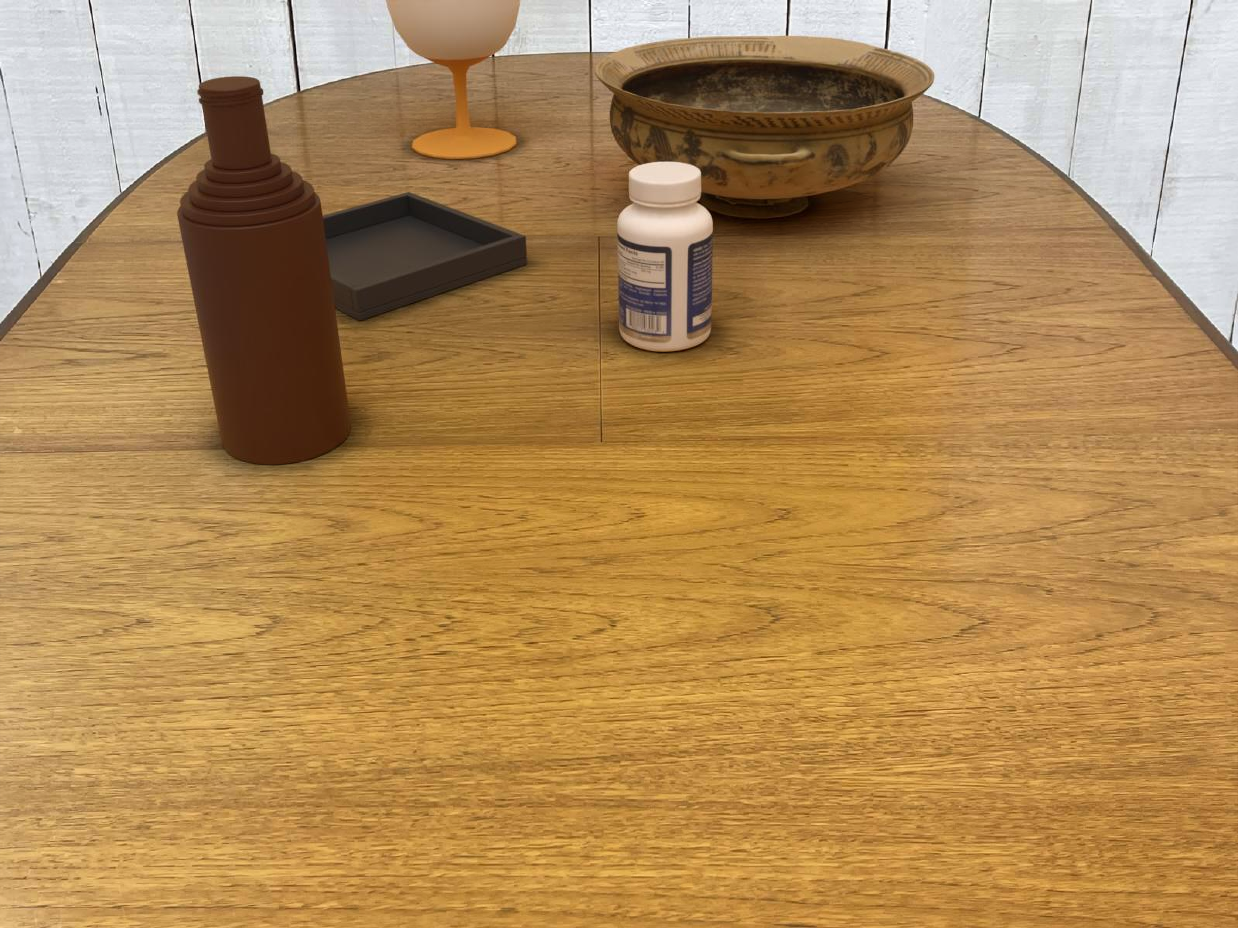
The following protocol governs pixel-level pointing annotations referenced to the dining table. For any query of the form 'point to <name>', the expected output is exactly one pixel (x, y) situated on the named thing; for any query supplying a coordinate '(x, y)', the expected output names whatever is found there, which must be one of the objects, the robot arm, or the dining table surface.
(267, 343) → the sauce bottle
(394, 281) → the tray
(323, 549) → the dining table surface
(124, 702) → the dining table surface
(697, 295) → the pill bottle
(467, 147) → the cup
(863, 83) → the ceramic bowl
